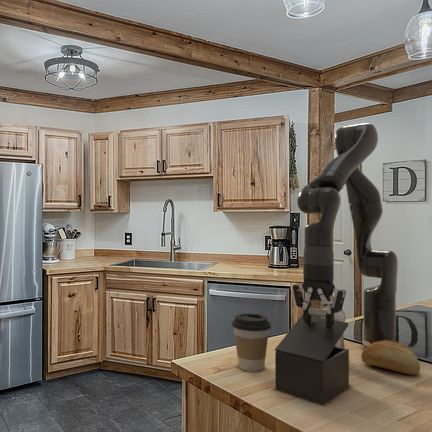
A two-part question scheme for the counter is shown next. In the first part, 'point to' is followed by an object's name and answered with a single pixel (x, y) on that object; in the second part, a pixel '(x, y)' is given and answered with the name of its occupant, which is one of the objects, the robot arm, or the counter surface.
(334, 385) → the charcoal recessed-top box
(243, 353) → the coffee cup
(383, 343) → the bread roll
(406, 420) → the counter surface
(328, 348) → the charcoal box lid
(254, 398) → the counter surface
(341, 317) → the plastic bottle
